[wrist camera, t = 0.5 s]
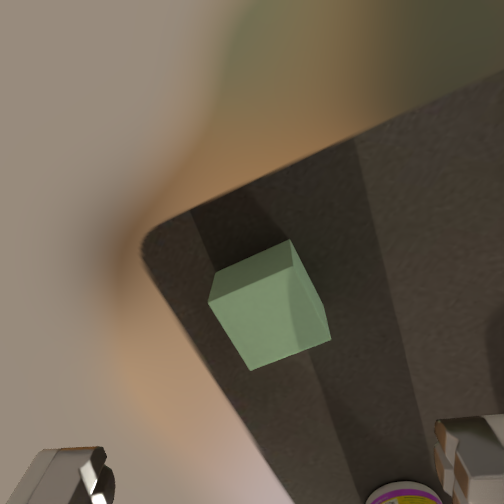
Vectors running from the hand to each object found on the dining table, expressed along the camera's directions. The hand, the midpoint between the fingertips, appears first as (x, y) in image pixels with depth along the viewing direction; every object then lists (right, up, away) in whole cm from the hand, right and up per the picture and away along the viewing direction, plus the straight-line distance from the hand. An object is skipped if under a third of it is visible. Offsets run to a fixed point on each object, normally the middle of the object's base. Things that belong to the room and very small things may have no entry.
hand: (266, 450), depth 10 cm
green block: (+1, +2, +18) cm, 18 cm away
